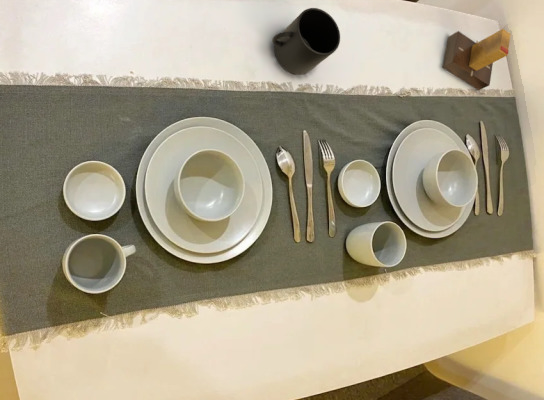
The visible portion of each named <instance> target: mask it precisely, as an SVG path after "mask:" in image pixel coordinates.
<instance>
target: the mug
mask: <svg viewBox="0 0 544 400" xmlns="http://www.w3.org/2000/svg"><path fill="white" fill-rule="evenodd" d="M271 42H272V44H273V45H274V53H275V57H276V59H277V61H278V64H280V66H281V67H282V68H283V69H284V70H285V71H287V72H289V73H290V74H293V75H298V76H299V75H306V74H308V73H310V72H311V71H312V70H313V69H314V68H316V67H317V66H319V64H321V63H322V62H324V61H325V60H327V59H328V58H329V57H330V56H331V55H332V54H334V53H335V52H336V51H337V50H338V48H339V46H340V42H341V33H340V28H339V25H338V24H337V22H336V20H335V19H334V18H333V17H332V16H331V14H330V13H329V12H326V11H325V10H324V9H321V8H318V7H308V8H306V9H304V10H303V11H302V12H301V13H299V14H298V16H296V18H295V19H294V20H293V21H292V22H291V23H290V24H289V25H288V26H287V27H286V28H285V29H283V30H282V32H279V33H277V34H275V35H273V37H272V41H271Z"/></svg>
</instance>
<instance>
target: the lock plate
mask: <svg viewBox="0 0 544 400" xmlns="http://www.w3.org/2000/svg"><path fill="white" fill-rule="evenodd" d="M478 42H479V41H478V40H476V41H474V40H473V39H471V38H470V37H469V36H466V34H463V32H461V31H459V30H458V31H456V32H455V33H453V34H451V35H450V36H449V35H448V37H447V41H446V46H445V47H446V48H445V52H444V57H443V63H442V69H444V70H446V71H448V72H449V73H450V74H451V75H453V76H456V77H457V78H458V79H460V80H461V81H463V82H465V83H466V84H468V85H469V86H471V87H473V88H474V89H476V90H477V91H481V90H483V89H485V88H487V87H490V84H491V79H492V71H493V65H494V62H493V63H491V64H489V65H487V66H485V67H483V68H481V69H479V70H477V71H476V70H474V69H473V68H471V67H470V66H469V62H470V56H471V51H472V46H473V45H474V44H476V43H478Z"/></svg>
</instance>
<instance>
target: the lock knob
mask: <svg viewBox="0 0 544 400" xmlns="http://www.w3.org/2000/svg"><path fill="white" fill-rule="evenodd" d="M510 41H511V33H510V32H508V31H507V30H506V29H504V28H501V29H499V30H498V31H496V32H494V33H492V34H491V35H489V36H487V37H485V38H484V39H482V40H480V41H478V43H476V42H475V43H476V44H474V45H473V46H472V51H471V56H470V62H469V66H470V67H471V68H473V69H474V70H476V71H477V70H479V69H481V68H483V67H485V66H487V65H489V64H491V63H493V64H494V63H495V62H497V61H499V60H501V59H503V58H505V57H508V55H509V51H510V50H509V48H510Z"/></svg>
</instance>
